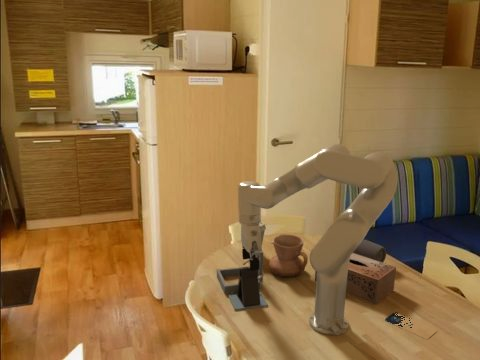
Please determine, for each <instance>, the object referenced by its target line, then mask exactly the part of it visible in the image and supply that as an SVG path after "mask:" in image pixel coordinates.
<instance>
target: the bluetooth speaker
mask: <svg viewBox="0 0 480 360" xmlns="http://www.w3.org/2000/svg"><path fill="white" fill-rule="evenodd" d="M353 253H355V254H358V255H361V256H364V257H367V258H370V259H373V260H376V261H379V262H382V263H385V260H386V257H387V251H386V248H385V247H384V246H382V245H380V244H377V243H375V242H372V241H371V240H370V241H369V240H368V239H365V238H364V239H363V240H362V242H361V243H360V244H359V246H358V247H357V248H356V249H355V250H354V252H353Z"/></svg>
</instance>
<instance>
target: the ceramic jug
mask: <svg viewBox="0 0 480 360" xmlns="http://www.w3.org/2000/svg"><path fill="white" fill-rule="evenodd" d="M270 244H271V245H273V247H274V250H275V254H276V255H275V256H273V257H271V259H270V260H269V263H268V266H269V269H270V271H272V272H273V273H274V274H276V275H277V276H280V277H286V278H288V277H297V276H299V275H301V274H303V272H304V271H305V269H306V267H307V264H308V260H309V258H308V255H307V253H305V252H303V251H302V250H303V246H304V239H303V238H302V237H300V236H298V235H296V234H290V233H289V234H287V233H285V234H279V235H275V236H274V237H273V239H272V241H271V242H270ZM300 256H302V258H303V259H302V258H301V257H300Z"/></svg>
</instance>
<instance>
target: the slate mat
mask: <svg viewBox="0 0 480 360" xmlns="http://www.w3.org/2000/svg"><path fill="white" fill-rule="evenodd" d="M259 294H260V305H253V306H247V307H244V306H243V304H242V303H241V301H240V300H239V298H238V297H237V293H230V294H227V295H228V298H229V300H230V304H231V306H232V307H233V309H234V312H235V311H243V310H251V309H257V308H266V307H269V304H268V302H267V301H266V299H265V298H264V296H263V294H262V292H261V290H259Z"/></svg>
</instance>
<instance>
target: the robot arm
mask: <svg viewBox="0 0 480 360" xmlns="http://www.w3.org/2000/svg"><path fill="white" fill-rule="evenodd" d="M398 178H399V177H398V171H397V167H396V164H395V162H394V161H393V160H392V158H391V157H390V156H389V155H388V154H386V153H384V152H380V151H377V152H376V151H375V152H371V153H370V154H367V155H366V156H364V157H361V156H356V155H352V154H351V152H350V150H349V148H348V147H346V146H345V145H344V144H340V143H335V144H334V143H333V144H331V145H329V146H327V147H325V148H324V149H321V150H320V151H318V152H316V153H315V154H312V156H309V157H308V158H307V159H304V160H303V161H301V162H298V163H297V164H296V165H295V167H294V168H292V169H291V170H288V171H287V172H285V173H283V174H282V175H280V176H278V177H277V178H275V179H272V180H271V181H269V182H268V183H266V184H263V185H260V183H259V182H257V181H255V180H254V181H253V180H246V181H245V180H244V181H241V182H240V183H239V184H238V186H237V204H238V205H237V206H238V207H237V208H238V223H239V224H240V238H241V241H240V242H241V246H242V249H241V250H242V251H241V252H242V256H241V257H242V260H248V259H250V261H249V266H250V270H251V271H255V270H259V252H261V251H263V249H262V248H263V247H262V246H263V245H262V246H261V232H260V225H259V223H260V222H262V218H261V217H262V215H261V213H262V212H261V209H265V210H267V209H272V208H274V207H276V205H279V204H280V203H281V202H283V201H284V200H285V199H287V198H289V197H291V196H292V195H295V194H297V193H298V192H300V191H302V190H303V191H304V190H305V189H307V190H309V189H311V188H314V187H316V186H317V185H319V184H321V183H323V182H325V181H327V180H330V181H334V182H336V183H341V184H344V185H347V186H350V187H351V186H352V187H355V188H358V189H362V190H361V191H360V192H359V193H358V195H357V196H356V198H355V199H354V200H353V201H352V203H351V204H350V205H349V206H348V207H347V208H346V209H345V210H344V211H343V212H342V213H340V215H338V217H337V218H336V219H334V221H332V223H331V225H329V227H328V228H327V229H326V231H325V232H324V233H323V235H321V237H320V238H319V240H318V241H317V242H316V243H315V245H314V246H313V248H312V249H311V250H310V253H309V262H310V266H311V267H312V268H313V270H314V272H315V271H317V280H316V281H315V284H316V285H315V299H314V312H313V313H312V314H310V316H309V318H308V319H309V320H308V322H309V325H310V327H311V328H312V329H313V330H315V331H316V332H319V333H321V334H324V335H336V336H340V335H341V334H342V333H345V332H346V331H347V330H348V328H349V321H348V318H347V317H345V311H346V310H345V307H346V297H347V296H346V295H347V293H346V286H347V276H348V267H349V261H350V256H351V254H352V253H353V252H354V250H355V249H356V248H357V247H358V246H359V244H360V243H361V242H362V240H363V239H365V237H366V236H367V234H368V232H369V230H370V229H371V227H372V226H373V225H374V223H375V222H376V221H377V220H378V219H379V218H380V216H381V215H382V213H383V212H384V211H385V209H387V207H388V206H389V204H390V203H391V202H392V199H393V197H394V195H395V194H396V190H397V187H398V181H399V179H398ZM251 250H253V251H251ZM252 253H254V255H253V256H252Z"/></svg>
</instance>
